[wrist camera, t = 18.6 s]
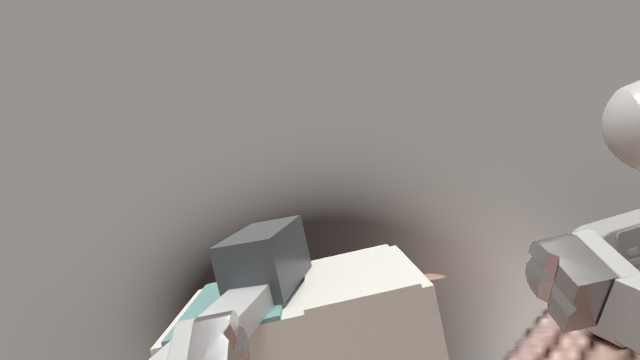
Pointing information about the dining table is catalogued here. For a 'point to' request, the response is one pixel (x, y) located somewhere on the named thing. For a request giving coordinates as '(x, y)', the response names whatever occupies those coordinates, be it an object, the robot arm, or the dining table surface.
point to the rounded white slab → (618, 246)
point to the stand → (345, 312)
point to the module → (257, 271)
